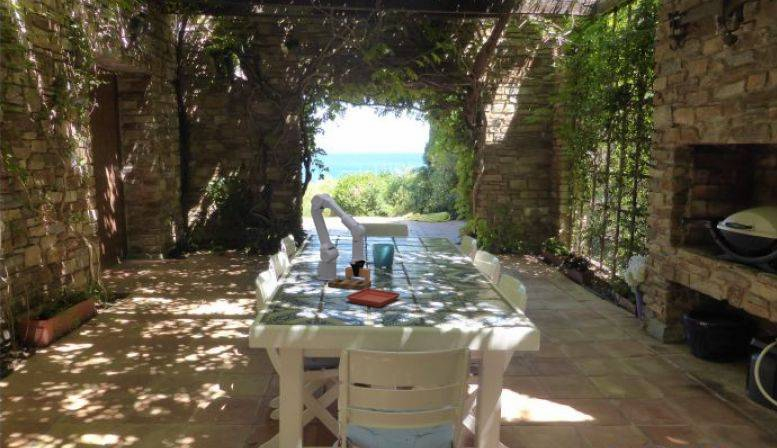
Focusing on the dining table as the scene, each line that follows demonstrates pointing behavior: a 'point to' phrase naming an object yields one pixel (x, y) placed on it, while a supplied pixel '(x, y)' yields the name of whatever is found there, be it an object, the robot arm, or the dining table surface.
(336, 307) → the dining table surface
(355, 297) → the plant saucer
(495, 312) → the dining table surface
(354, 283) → the brown flat slab
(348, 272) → the tan stepped block
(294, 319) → the dining table surface
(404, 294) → the dining table surface
